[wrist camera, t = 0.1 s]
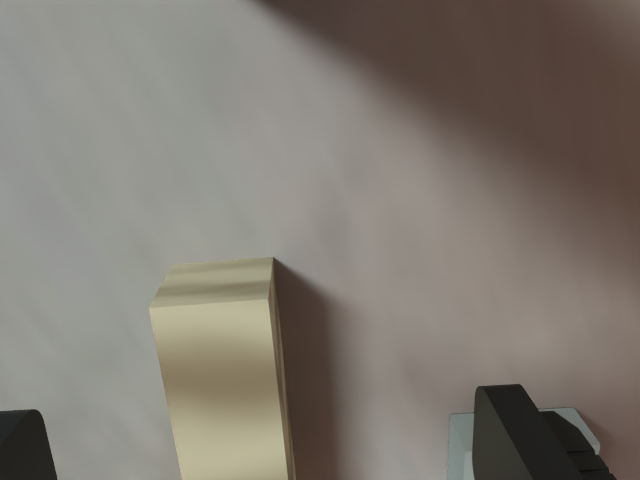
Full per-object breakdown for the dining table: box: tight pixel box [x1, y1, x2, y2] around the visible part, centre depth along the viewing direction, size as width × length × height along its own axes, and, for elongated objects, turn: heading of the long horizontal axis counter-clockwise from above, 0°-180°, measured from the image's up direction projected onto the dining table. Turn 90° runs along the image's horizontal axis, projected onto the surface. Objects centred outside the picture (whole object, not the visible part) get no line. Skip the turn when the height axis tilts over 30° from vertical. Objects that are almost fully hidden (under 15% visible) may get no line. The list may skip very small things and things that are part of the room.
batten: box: [149, 257, 296, 480], centre depth 29 cm, size 22×5×5 cm, turn 4°
